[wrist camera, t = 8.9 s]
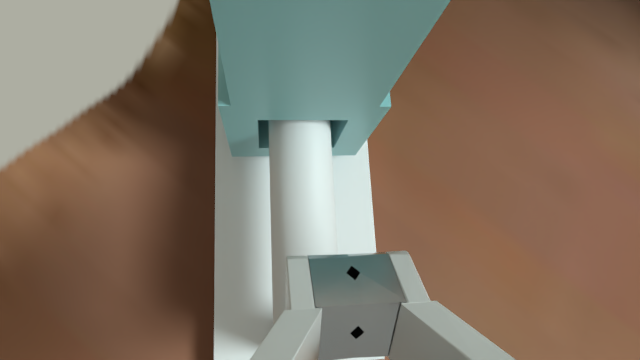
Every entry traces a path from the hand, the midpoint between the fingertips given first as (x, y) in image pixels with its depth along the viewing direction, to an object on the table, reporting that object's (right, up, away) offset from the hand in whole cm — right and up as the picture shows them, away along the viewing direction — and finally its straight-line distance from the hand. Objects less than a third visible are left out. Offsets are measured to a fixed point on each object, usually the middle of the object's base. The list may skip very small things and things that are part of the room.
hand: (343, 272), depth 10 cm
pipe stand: (-2, +4, +15) cm, 16 cm away
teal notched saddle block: (-2, +6, +14) cm, 15 cm away
